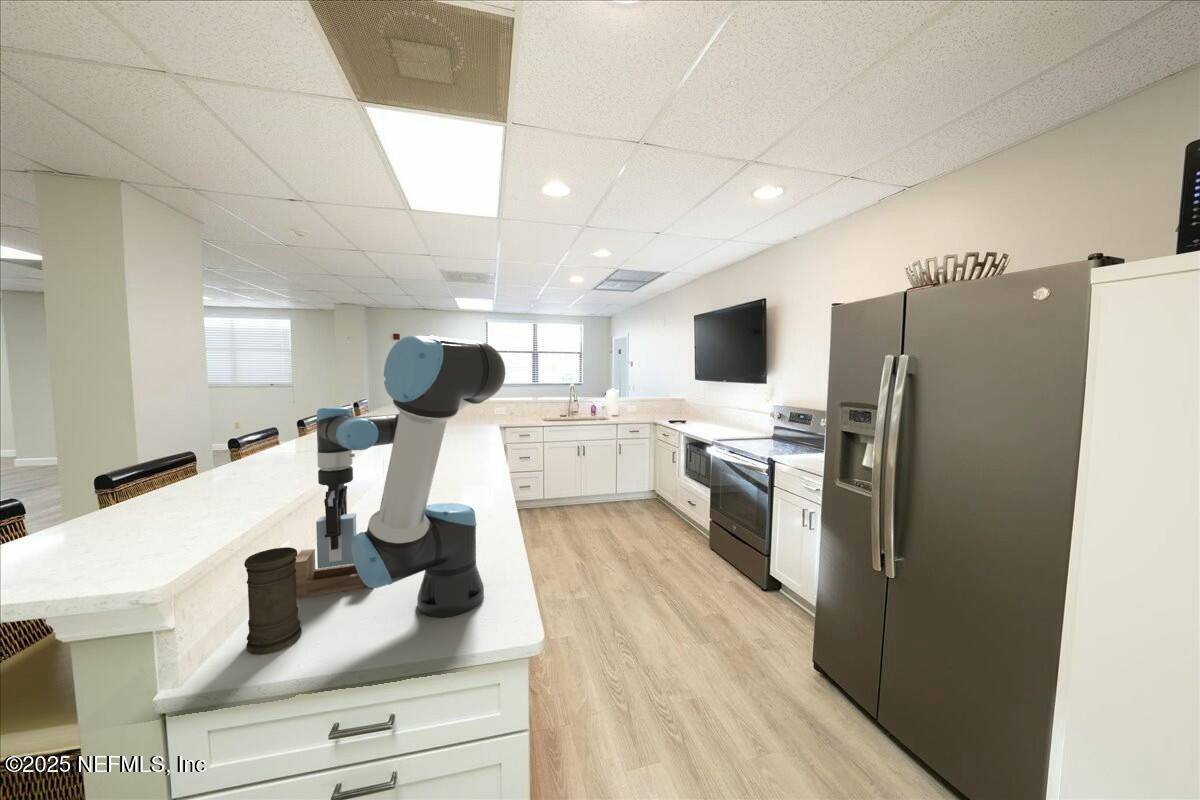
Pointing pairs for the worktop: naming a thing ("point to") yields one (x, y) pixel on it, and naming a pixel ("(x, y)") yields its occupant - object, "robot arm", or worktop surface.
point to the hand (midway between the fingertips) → (337, 556)
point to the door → (347, 536)
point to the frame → (323, 577)
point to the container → (272, 601)
